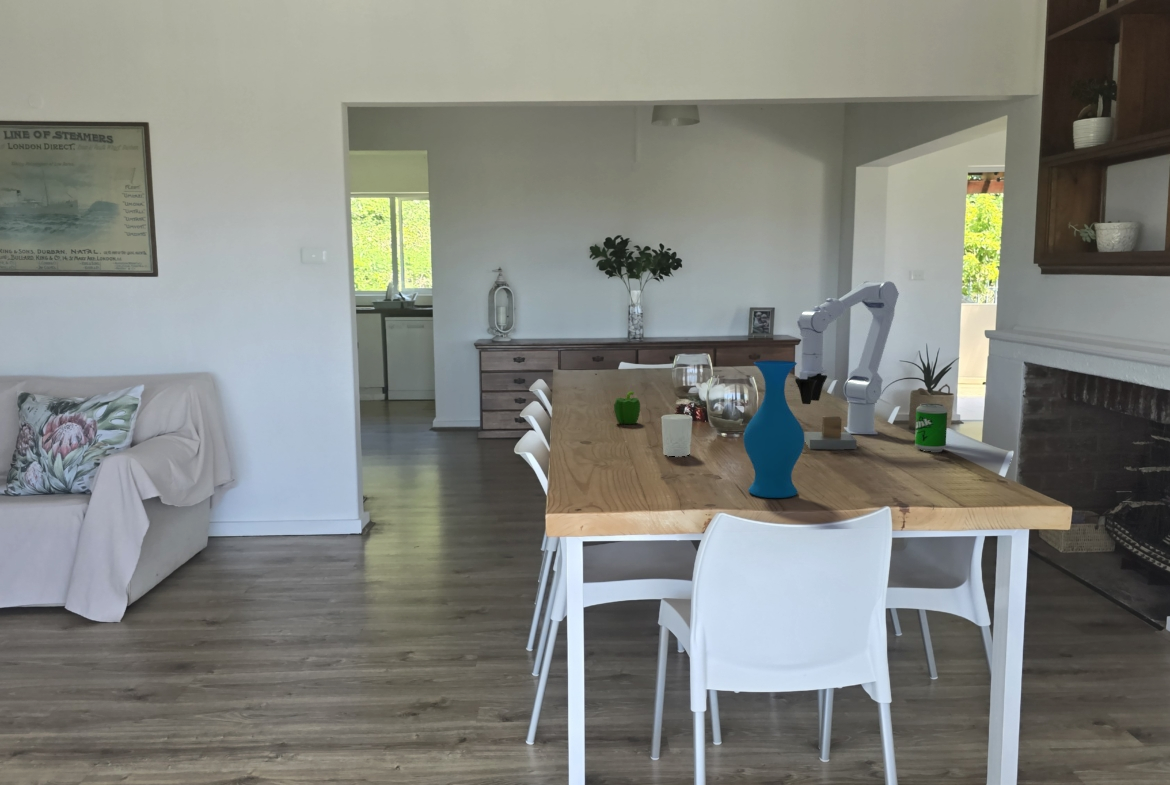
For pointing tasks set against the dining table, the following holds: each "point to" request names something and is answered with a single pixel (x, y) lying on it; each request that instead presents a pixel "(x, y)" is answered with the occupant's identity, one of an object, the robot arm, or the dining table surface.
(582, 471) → the dining table surface
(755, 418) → the vase
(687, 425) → the white cup
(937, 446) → the soda can
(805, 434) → the plinth
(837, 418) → the walnut cube
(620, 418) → the bell pepper
